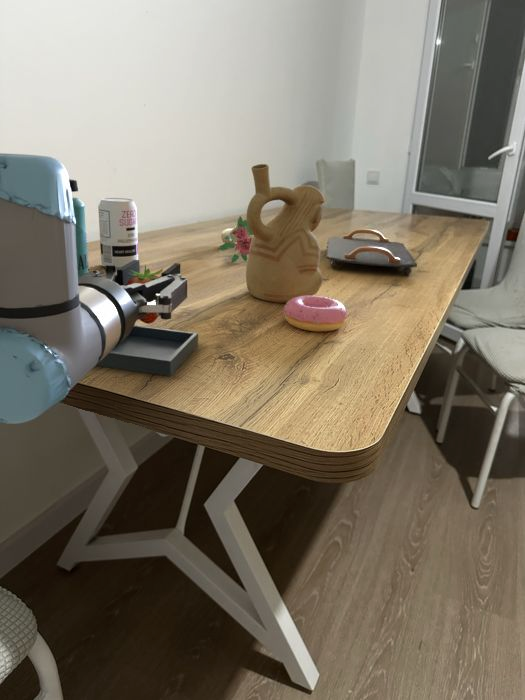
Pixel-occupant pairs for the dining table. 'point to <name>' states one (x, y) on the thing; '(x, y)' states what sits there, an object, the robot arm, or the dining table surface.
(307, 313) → the doughnut
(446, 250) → the dining table surface
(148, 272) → the fruit
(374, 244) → the serving tray
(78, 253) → the beverage bottle
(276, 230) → the ceramic vessel
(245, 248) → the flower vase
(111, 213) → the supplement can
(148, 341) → the dark gray square tray
